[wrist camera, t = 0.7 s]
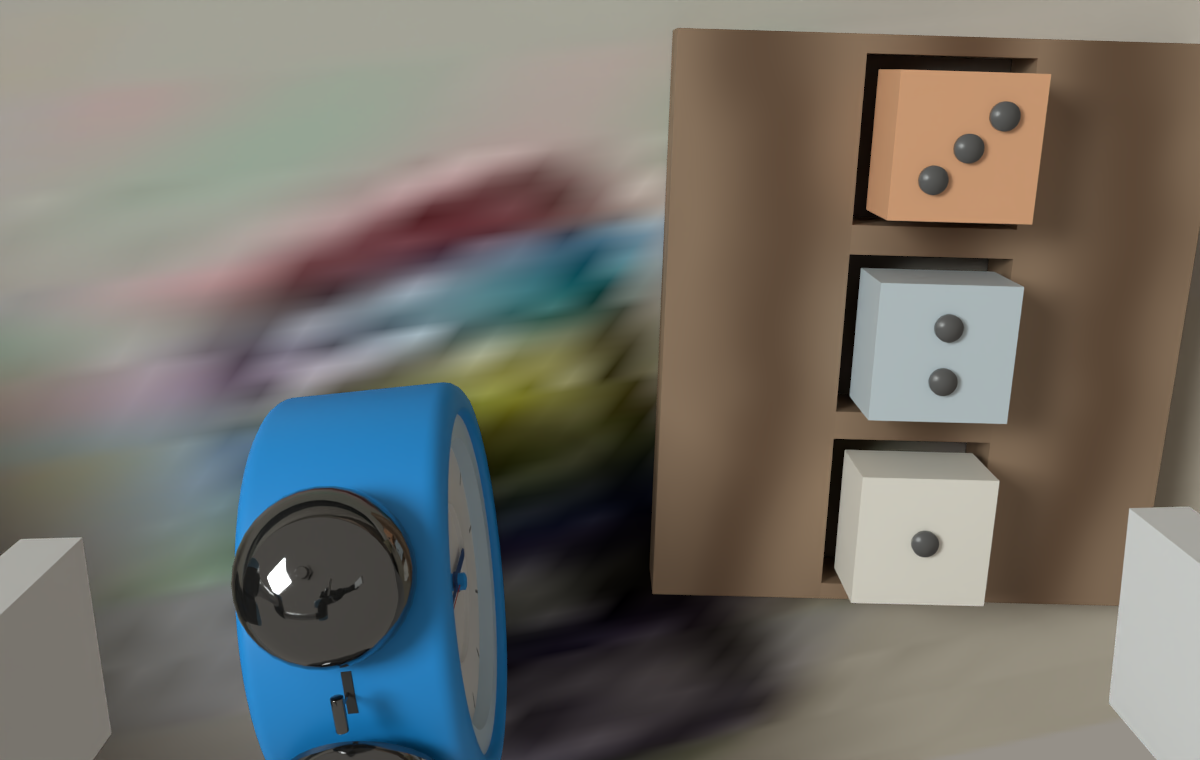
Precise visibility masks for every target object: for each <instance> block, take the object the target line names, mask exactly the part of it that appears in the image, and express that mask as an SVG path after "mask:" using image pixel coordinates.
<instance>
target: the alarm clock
mask: <svg viewBox="0 0 1200 760" xmlns="http://www.w3.org/2000/svg"><path fill="white" fill-rule="evenodd" d="M231 589H232V597H233V604H234V607H235V610H236V623H237V636H238V645H239V654H240V661H241V668H242V675H243V681H244V686H245V691H246V697H247V701H248V706H249V710H250V714H251V718H252V722H253V725H254V729H255V732H256V736H257V739H258V741H259V744H260V747H261V750H262V752H263V755H264V757H265V760H501V755H502V749H503V742H504V733H505V721H506V703H507V640H506V616H505V599H504V585H503V573H502V562H501V552H500V542H499V534H498V525H497V518H496V510H495V503H494V497H493V490H492V484H491V479H490V473H489V468H488V463H487V458H486V453H485V449H484V444H483V440H482V436H481V432H480V429H479V425H478V422H477V419H476V416H475V413H474V410H473V408H472V405H471V403H470V401H469V399H468V398H467V396H466V395H465V394H464V392H463V391H462V390H461V389H460V388H459V387H457V386H455V385H453V384H451V383H444V382H443V383H433V384H423V385H414V386H404V387H394V388H385V389H375V390H365V391H355V392H346V393H336V394H326V395H317V396H307V397H297V398H291V399H287V400H285V401H283V402H281V403H279V404H278V405H277V406H276V407H275V408H273V409H272V410H271V411H270V412H269V414H268V415H267V416H266V417H265V419H264V421H263V422H262V424H261V426H260V428H259V430H258V432H257V434H256V437H255V439H254V441H253V444H252V447H251V450H250V453H249V456H248V460H247V464H246V467H245V472H244V476H243V481H242V486H241V493H240V499H239V507H238V516H237V526H236V541H235V559H234V562H233V566H232V578H231Z"/></svg>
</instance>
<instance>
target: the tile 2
mask: <svg viewBox="0 0 1200 760" xmlns="http://www.w3.org/2000/svg"><path fill="white" fill-rule="evenodd" d="M998 489H999V480H998V479H997V478H996V477H995V476H994V475H993V474H992V473H991V472H990V471H989V470H988V469H987V468H986V467H985V466H984V465H983V464H982V463H981V462H980V461H979V460H978V458H977V457H976V456H975V455H974V454H973V453H951V452H913V451H875V450H845V452H844V464H843V475H842V486H841V497H840V508H839V520H838V531H837V542H836V553H835V564H834V568H835V570H836V573H837V575H838V577H839V579H840V581H841V583H842V585H843V587H844V589H845V591H846V593H847V595H848V598H849V600H850V602H851V603H876V604H916V605H956V606H984V599H985V591H986V584H987V576H988V568H989V560H990V552H991V544H992V536H993V529H994V521H995V513H996V505H997V497H998Z"/></svg>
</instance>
